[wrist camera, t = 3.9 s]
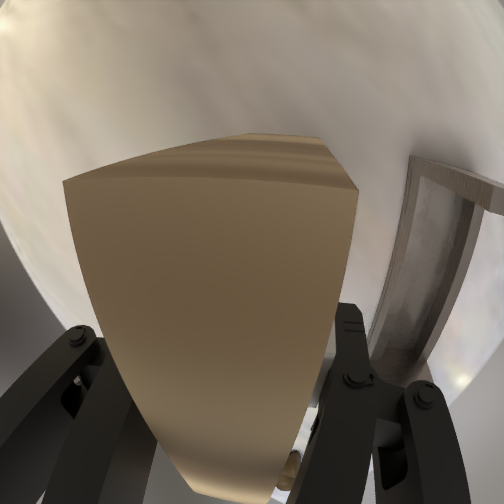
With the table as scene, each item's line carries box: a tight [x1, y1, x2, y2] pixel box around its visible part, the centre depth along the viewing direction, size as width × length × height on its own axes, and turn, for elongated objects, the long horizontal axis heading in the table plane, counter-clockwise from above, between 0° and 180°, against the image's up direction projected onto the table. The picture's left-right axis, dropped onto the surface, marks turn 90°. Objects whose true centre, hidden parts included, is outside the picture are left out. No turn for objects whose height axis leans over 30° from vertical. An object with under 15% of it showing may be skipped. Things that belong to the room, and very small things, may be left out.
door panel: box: [63, 134, 359, 504], centre depth 9 cm, size 12×3×10 cm, turn 179°
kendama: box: [276, 452, 301, 491], centre depth 41 cm, size 6×10×20 cm
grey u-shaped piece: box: [367, 156, 504, 388], centre depth 17 cm, size 20×7×12 cm, turn 178°
